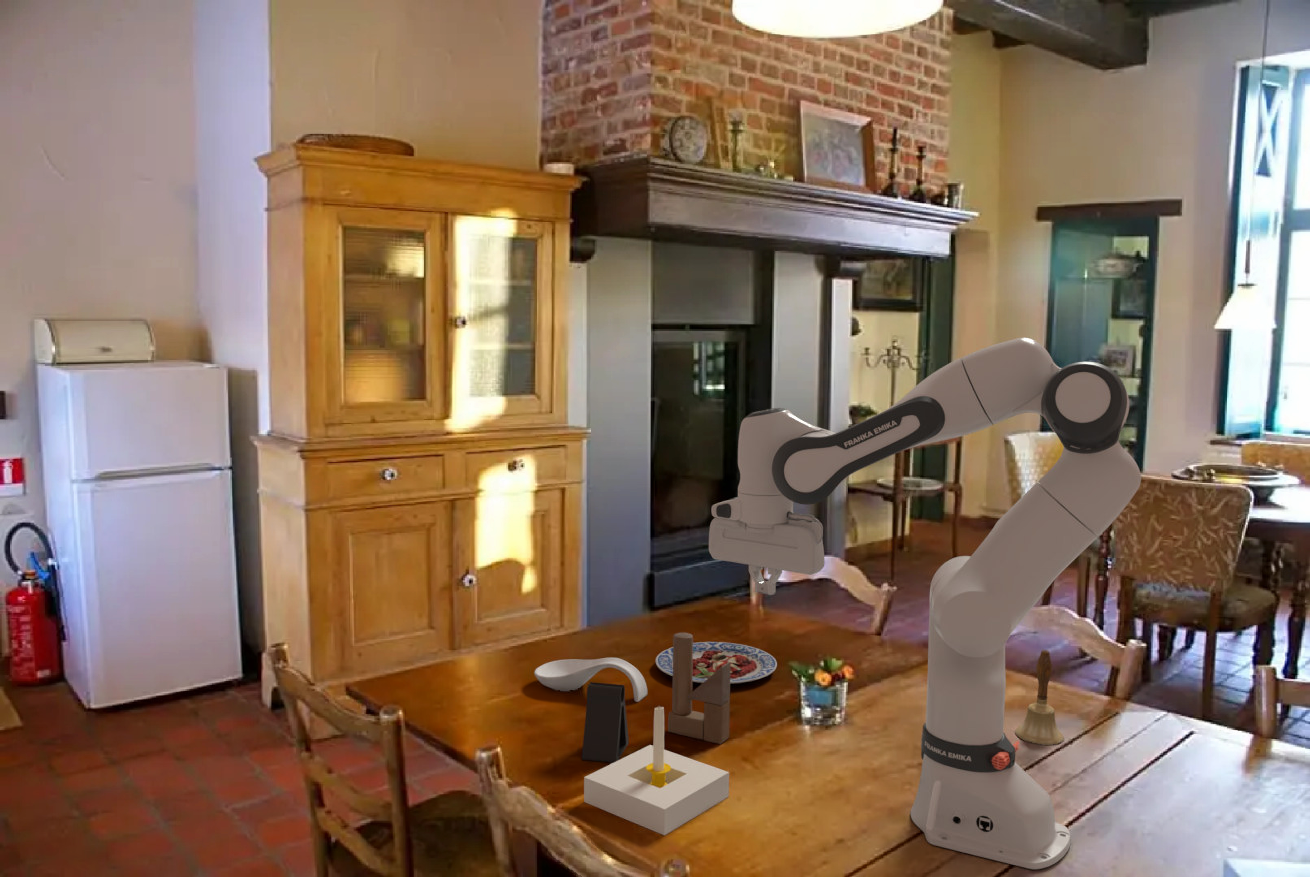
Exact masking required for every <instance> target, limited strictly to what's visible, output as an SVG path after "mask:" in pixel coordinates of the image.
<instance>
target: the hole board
mask: <svg viewBox="0 0 1310 877" xmlns="http://www.w3.org/2000/svg"><path fill="white" fill-rule="evenodd" d="M651 763H653V745H651V744H649V745H647V746H645V747H642V748H641V749H639V750H637V751H634V752H633V753H630V754H629V755H627V756H624V757H622V758H621V759H620V758H619V760H618V761H616V762H614V763H610V764H609V765H606V766H604V767H602V768H600V769H598V770H596V771H594V772H592V773H590V774H588V775H586V776H584V777H583V778H584V779H583V800H584V801H583V802H584V803H586V804H588V805H590V806H593V807H596V808H598V809H601V810H602V811H605V812H606V813H607V812H608V813H610V814H613V815H614V816H617V817H618V818H621V819H625V820H627V821H629V822H631V823H634V824H637V825H638V826H641V827H643V828H646V829H648V830H650V831H653V832H655V833H657V834H660V835H662V836H667V835H669V833H671V832H673V831H675V830H677V829H678V828H680V827H681V826H683V825H684V824H686V823H687V822H690V821H691V820H692V819H695V818H696V817H697V816H699V815H701V814H703V813H704V812H707V810H709V809H710V808H712V807H714V806H715V805H717V804H719V803H720V802H722V801H724V800H726V799H727V798H728V797H729V796H730V794H729V792H730V772H729V771H727V770H723V769H721V768H718V767H715V766H713V765H709V764H706V763H705V762H701V761H698V760H695V759H692V758H689V757H687V756H684V755H681V754H678V753H675V752H672V751H670V750H667V749H664V763H666V764H668V765H670V766H671V770H670V771H669V772H667V773H666V774H665V777H666V780H665V783H667V785H665V786H664V787H662V788H658V787H655V786H653V785H650V783H651V782H652V780H651V777H652V773H651V772H649V771H647V769H646V767H647V765H649V764H651Z"/></svg>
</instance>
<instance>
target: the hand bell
mask: <svg viewBox="0 0 1310 877" xmlns="http://www.w3.org/2000/svg"><path fill="white" fill-rule="evenodd" d="M1052 671H1053V664H1052V659H1051V655H1050V650H1046V649H1043V650H1041V652H1040V655H1039V657H1038V660H1037V662H1036V678H1037V682H1038V683H1037V684H1038V688H1037V696H1036V697H1037V699H1036V702H1033V703H1030V704H1029V705H1028V707H1027V712H1026V716H1025V718H1024V720H1023V722H1022V723H1021V724H1020V725H1018V726H1017V727H1016V729H1015V730H1014V731H1015V732H1014V733H1015V735H1016V736H1017V737H1018V738H1019V739H1021V740H1023V741H1025V742H1028V743H1031V742H1032V743H1031V744H1035V743H1037V744H1036V745H1040V744H1045V745H1044V746H1054V745H1053V744H1056V745H1059V744H1058V743H1060V742H1062V743H1063V742H1064V741H1065V737H1064V735H1063V733H1062V732H1061V731H1060V730H1059V728H1058V725H1057V723H1056V717H1055V716H1056V714H1055V712H1056V711H1055V708H1053V706H1051V705H1049V704H1048V686H1049V682H1050V681H1051V678H1052ZM1060 744H1061V743H1060Z"/></svg>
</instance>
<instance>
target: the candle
mask: <svg viewBox="0 0 1310 877" xmlns="http://www.w3.org/2000/svg"><path fill="white" fill-rule="evenodd" d="M653 711H654V712H653V737H652V738H653V743H652V744H653V763H651V764H649V765H647V767H646V769H647V771H649V772H651V773H652V777H651V780H652V782H651V783H650V785H653V786H655V787H658V788H662V787H664V786H665V785H667V783H665V780H666V777H665V774H666V773H667V772H669V771H670V770H671V766H670V765H668V764H666V763H664V750H665V708H664V706H657V707H654V710H653Z"/></svg>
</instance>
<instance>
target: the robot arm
mask: <svg viewBox="0 0 1310 877" xmlns="http://www.w3.org/2000/svg"><path fill="white" fill-rule="evenodd" d="M1129 410H1130V399H1129V394H1128V391H1127V389H1126V387H1125V385H1124V383H1123V381H1122V379H1121V377H1120V376H1119V375H1118V374H1117V373H1116V372H1115V371H1113V370H1112V369H1111V368H1110V367H1108V366H1106V365H1104V364H1101V363H1099V362H1093V361H1078V362H1077V361H1076V362H1073V363H1070V364H1067V365H1065V366H1064V367H1059V366H1058V365H1057V364H1056V363H1055V361H1054V360H1053V358H1052V357H1051V355H1050V353H1049V352H1048V350H1047V349H1046V348H1045V347H1044V346H1043V344H1041V343H1039V342H1038V341H1037V340H1035V339H1033V338H1030V337H1017V338H1014V339H1010V340H1006V341H1003V342H999V343H996V344H993V345H990V346H989V345H988V346H987V347H983V348H981V349H979V350H976V351H974V352H971V353H968V354H967V355H964V356H962V357H959V358H957V359H955V360H952V361H951V362H950V363H949V362H948V363H947V364H946V365H944V366H942V367H941V368H938V369H937V370H936V371H934V372H932V373H931V374H929V375H928V376H927V377H926V378H924V379H923V380H921V381H920V382H918V384H917V385H916V386H914V387H912V389H911V390H909V392H908V393H907V394H905V395H904V396H903V397H902V398H901V399H899V400H898V401H897V402H895V403H894V404H893V405H891V406H890V407H888V408H887V409H885V410H883V411H881V412H880V413H878V414H875V415H873V416H871V417H869V418H867V419H865V420H862V421H860V422H858V423H856V424H854V425H852V426H848V427H846V428H845V429H843V430H840V431H838V432H835V431H831V430H828V429H825V428H822V427H819V426H816V425H813V424H811V423H809V422H807V421H804V420H802V419H801V418H799V417H797V416H796V415H794V414H793V413H792V412H791V411H790V410H789V409H787V408H784V407H776V408H775V407H774V408H767V409H763V410H759V411H754V412H751V413H749V414H748V415H746V416H745V417H744V418H743V420H742V421H741V423H740V428H739V433H738V442H737V443H738V444H737V447H738V448H737V466H738V470H739V474H740V476H739V477H740V479H739V483H738V486H737V496H736V497H732V498H729V499H728V500H723V501H721V502H717V503H715V504H712V505H711V516H712V517H714V518H713V519H712V520H711V522H710V525H709V533H708V552H709V554H710V555H711V557H712V559H714V560H720V561H725V562H732V563H738V564H742V565H748V572H749V575H750V576H751V579H752V580H753V582H754V592H755V593H757V594H764V595H769V596H772V595H775V594H776V590H777V589H776V586H777V585H776V584H777V582H778V581H779V579H780V578H781V576H782V574H783V571H786V572H790V573H796V574H803V575H809V576H812V575H815V574H818V573H820V572H821V571H822V570H823V569H824V567H825V563H826V562H825V550H824V544H823V543H824V542H823V534H824V533H823V530H824V526H823V524H822V523H821V521H820V520H819V519H818V518H816V517H815V515H813V514H809V513H807V514H803V513H799V512H798V513H797V512H794V503H796V504H798V505H806V506H807V505H815V504H818V503H820V502H822V501H824V500H825V499H826V498H828V497H829V496H830V495H832V493H833V492H834V491H835V490H836V489H837V488H838V487H839V486H840V485H841V484H843V483H844V482H845V481H846V480H847V478H848V477H849V476H851V475H853V474H854V473H856V472H858V471H860V470H863V469H864V468H867V467H870V466H871V465H874V464H875V463H878V462H880V461H882V460H885V459H887V458H889V457H891V456H893V455H896V454H898V453H901V452H902V451H903V452H904V451H906V450H908V449H913V448H915V447H918V446H924V445H928V444H933V443H937V442H941V441H947V440H952V439H956V438H959V437H964V436H967V435H970V434H971V435H972V434H973V433H977V432H979V431H982V430H984V429H987V428H990V427H992V426H994V425H997V424H999V423H1001V422H1003V421H1006V420H1008V419H1011V418H1013V417H1016V416H1020V415H1022V414H1029V413H1030V414H1031V413H1033V414H1037V415H1039V416H1040V417H1041V418H1042V419H1043V420H1044V421H1045V422H1046V423H1047V424H1048V426H1049V427H1050V429H1051V430H1052V431H1053V432H1054V434H1055V435H1056V436H1057V437H1058V439H1059V441H1060V443H1061V444H1062V446H1063V448H1062V449H1063V450H1062V451H1061V455H1060V457H1058V460H1057V461H1056V462H1055V463H1054V465H1053V466H1052V467H1051V468H1050V469H1049V470H1048V471H1047V472H1046V473H1045V474H1044V475H1043V476H1042V477H1041V478H1040V479H1039V480H1037V482H1036V483H1035V484H1033V485H1032V486H1031V487H1030V489H1028V491H1027V492H1026V493H1024V495H1022V496H1021V497H1020V498H1019V499H1018V501H1016V502H1015V503H1014V504H1013V505H1012V507H1010V508H1009V509H1008V510H1007V511H1006V512H1005V513H1004V514H1003V515H1002V516H1001V517H1000V518H999V519H998V520H997V521H996V522H995V524H994V526H993V528H992V529H991V530H990V532H989V533H988V535H987V536H986V537H985V538H984V540H982V542H981V543H980V545H979V546H978V547H977V548H976V550H974V552H973V553H972V554H971V556H970V555H962V556H956V557H953V558H950V559H949V560H948V561H945V562H944V563H943V564H941V566H939V568H938V569H937V570H936V572H935V573H934V575H933V577H932V580H931V582H930V587H929V610H928V611H929V612H928V614H929V615H928V647H927V648H928V649H927V650H928V651H927V653H928V654H927V682H926V684H927V686H926V704H925V708H926V709H925V722H924V724H923V725H922V732H921V739H920V740H921V741H920V742H921V743H920V745H921V746H920V747H921V748H920V749H921V752H920V753H921V754H920V756H921V759H922V764H921V766H922V767H921V773H920V777H919V783H918V788H917V792H916V796H915V799H914V802H913V804H912V807H911V810H910V819H911V820H912V822H913V824H915V825H916V826H917V827H918V828H919V829H920V830H921V831H922V832H923V833H924V836H925V839H926V841H927V842H928V843H929V844H931V845H933V846H936V847H941V848H944V849H948V850H952V851H957V852H961V853H966V854H969V855H973V856H976V857H981V858H985V859H989V860H993V861H996V862H1002V863H1005V864H1010V865H1013V866H1017V867H1021V868H1026V869H1028V870H1029V869H1030V870H1040V869H1045V868H1048V867H1051V866H1053V865H1054V864H1056V863H1058V862H1059V861H1060V860H1061V859H1062V858H1063V857H1064V856H1065V855H1066V854H1067V852H1068V851H1069V849H1070V847H1071V833H1070V830H1069V828H1067V826H1065V825H1064V824H1061V823H1059V822H1057V821H1056V820H1055V819H1056V818H1055V810H1054V804H1053V801H1052V798H1051V796H1050V795H1049V793H1048V791H1046V790H1045V789H1044V788H1043V787H1042V786H1041V785H1040V784H1039V783H1037V781H1035V779H1033V778H1032V777H1031V776H1030V774H1028V773H1027V772H1026V771H1025V770H1024V769H1023V768H1022V767H1021V766H1020V765H1019V764H1018V763H1017V762H1016V752H1018V750H1019V744H1020V741H1019V740H1016V741H1015V743H1012V742H1011V741H1010V740H1009V739H1008V737H1007V735H1006V733H1005V732H1004V725H1005V724H1004V723H1005V707H1006V706H1005V705H1006V688H1007V687H1006V686H1007V684H1006V681H1007V680H1006V643H1007V641H1008V640H1009V638H1010V636H1011V635H1012V633H1013V632H1014V631H1015V629H1016V628H1017V627H1018V626H1019V625H1020V623H1022V621H1023V620H1024V619H1025V617H1026V616H1027V615H1028V614H1029V613H1030V612H1031V611H1032V609H1033V608H1034V606H1035V605H1036V604H1037V603H1038V602H1039V600H1040V599H1041V598H1042V596H1043V595H1044V594H1045V592H1047V589H1048V588H1049V587H1050V586H1051V585H1052V583H1053V582H1054V581H1055V580H1056V579H1057V577H1058V576H1060V575H1061V573H1062V572H1063V571H1065V569H1066V568H1068V567H1069V565H1071V563H1073V561H1075V559H1077V557H1079V556H1080V555H1081V554H1082V553H1083V552H1084V551H1085V550H1086V549H1087V548H1088V547H1089V546H1090V545H1091V544H1092V543H1093V542H1094V541H1095V540H1097V539H1098V538H1099V537H1100V536H1101V535H1102V534H1103V533H1104V532H1106V530H1107V529H1108V528H1109V526H1111V524H1113V522H1114V521H1115V520H1117V518H1118V517H1119V515H1120V514H1121V513H1123V511H1124V509H1125V508H1126V507H1127V506H1128V505H1129V503H1130V502H1131V500H1132V499H1133V497H1134V496H1135V494H1136V493H1137V491H1138V490H1139V488H1140V487H1141V483H1142V482H1141V481H1142V474H1141V471H1140V468H1139V466H1138V464H1137V462H1136V461H1135V458H1134V457H1132V455H1131V454H1130V453H1129V452H1128V451H1126V449H1124V448H1123V446H1122V445H1121V443H1120V434H1121V431H1122V429H1123V428H1124V427H1125V424H1126V421H1127V418H1128V416H1129V412H1130V411H1129ZM764 568H767V575H770V576H769V578H768V580H765V579H764V577H763V574H762V572H761V570H763V569H764Z"/></svg>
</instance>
